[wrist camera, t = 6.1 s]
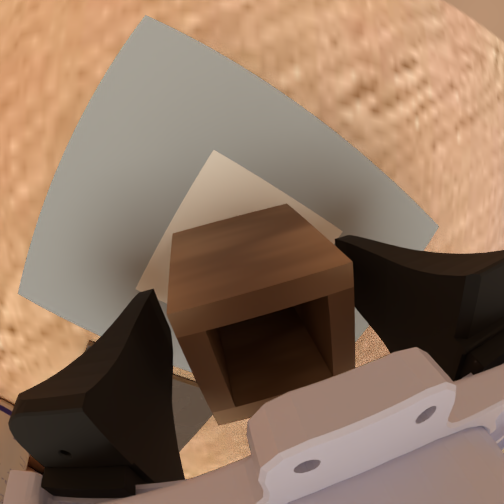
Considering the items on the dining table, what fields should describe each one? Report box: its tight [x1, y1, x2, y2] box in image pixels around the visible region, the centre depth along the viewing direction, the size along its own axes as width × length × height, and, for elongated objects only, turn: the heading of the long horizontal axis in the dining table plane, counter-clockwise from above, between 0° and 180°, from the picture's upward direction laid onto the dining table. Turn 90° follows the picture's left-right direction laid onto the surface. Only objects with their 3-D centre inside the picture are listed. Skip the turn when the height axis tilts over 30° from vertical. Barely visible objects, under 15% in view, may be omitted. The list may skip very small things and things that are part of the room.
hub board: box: [18, 15, 439, 372], centre depth 13 cm, size 18×14×4 cm
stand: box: [85, 341, 213, 452], centre depth 17 cm, size 9×9×3 cm
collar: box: [167, 204, 355, 425], centre depth 12 cm, size 5×5×6 cm
